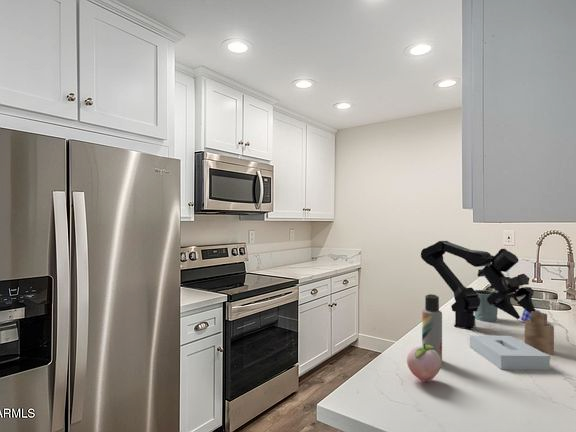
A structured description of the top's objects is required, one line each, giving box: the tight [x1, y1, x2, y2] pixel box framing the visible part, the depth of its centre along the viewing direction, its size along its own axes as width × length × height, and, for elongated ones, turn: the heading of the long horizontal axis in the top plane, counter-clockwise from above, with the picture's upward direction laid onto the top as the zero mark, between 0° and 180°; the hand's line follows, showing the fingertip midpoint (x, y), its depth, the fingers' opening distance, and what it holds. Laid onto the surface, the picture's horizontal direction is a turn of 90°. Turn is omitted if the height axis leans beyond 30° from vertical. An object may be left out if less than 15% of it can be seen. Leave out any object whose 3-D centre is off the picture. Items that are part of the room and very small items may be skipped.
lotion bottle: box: [421, 293, 443, 363], centre depth 109 cm, size 6×6×20 cm
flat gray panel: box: [469, 334, 551, 371], centre depth 111 cm, size 18×14×4 cm
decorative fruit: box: [406, 344, 442, 383], centre depth 95 cm, size 9×8×10 cm
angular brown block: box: [524, 311, 555, 356], centre depth 118 cm, size 8×2×12 cm, turn 25°
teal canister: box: [474, 289, 499, 323], centre depth 155 cm, size 10×10×12 cm
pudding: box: [516, 308, 550, 325], centre depth 152 cm, size 12×12×5 cm
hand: (527, 316), depth 121 cm, fingers open, 9 cm apart
